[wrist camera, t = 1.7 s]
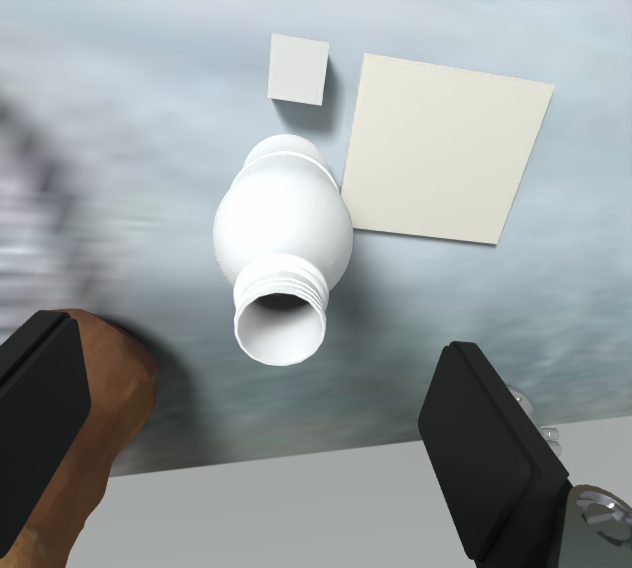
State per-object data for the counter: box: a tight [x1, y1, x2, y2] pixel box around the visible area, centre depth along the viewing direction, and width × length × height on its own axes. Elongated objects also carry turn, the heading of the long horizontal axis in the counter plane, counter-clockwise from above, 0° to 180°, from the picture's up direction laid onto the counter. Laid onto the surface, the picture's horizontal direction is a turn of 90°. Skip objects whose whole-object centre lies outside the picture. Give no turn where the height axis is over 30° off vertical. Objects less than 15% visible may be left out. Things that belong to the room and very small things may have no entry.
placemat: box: [340, 53, 555, 244], centre depth 35 cm, size 16×14×1 cm
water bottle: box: [213, 134, 353, 366], centre depth 24 cm, size 7×7×25 cm
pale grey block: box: [267, 34, 330, 106], centre depth 30 cm, size 4×4×4 cm
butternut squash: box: [0, 309, 158, 568], centre depth 31 cm, size 14×13×25 cm
